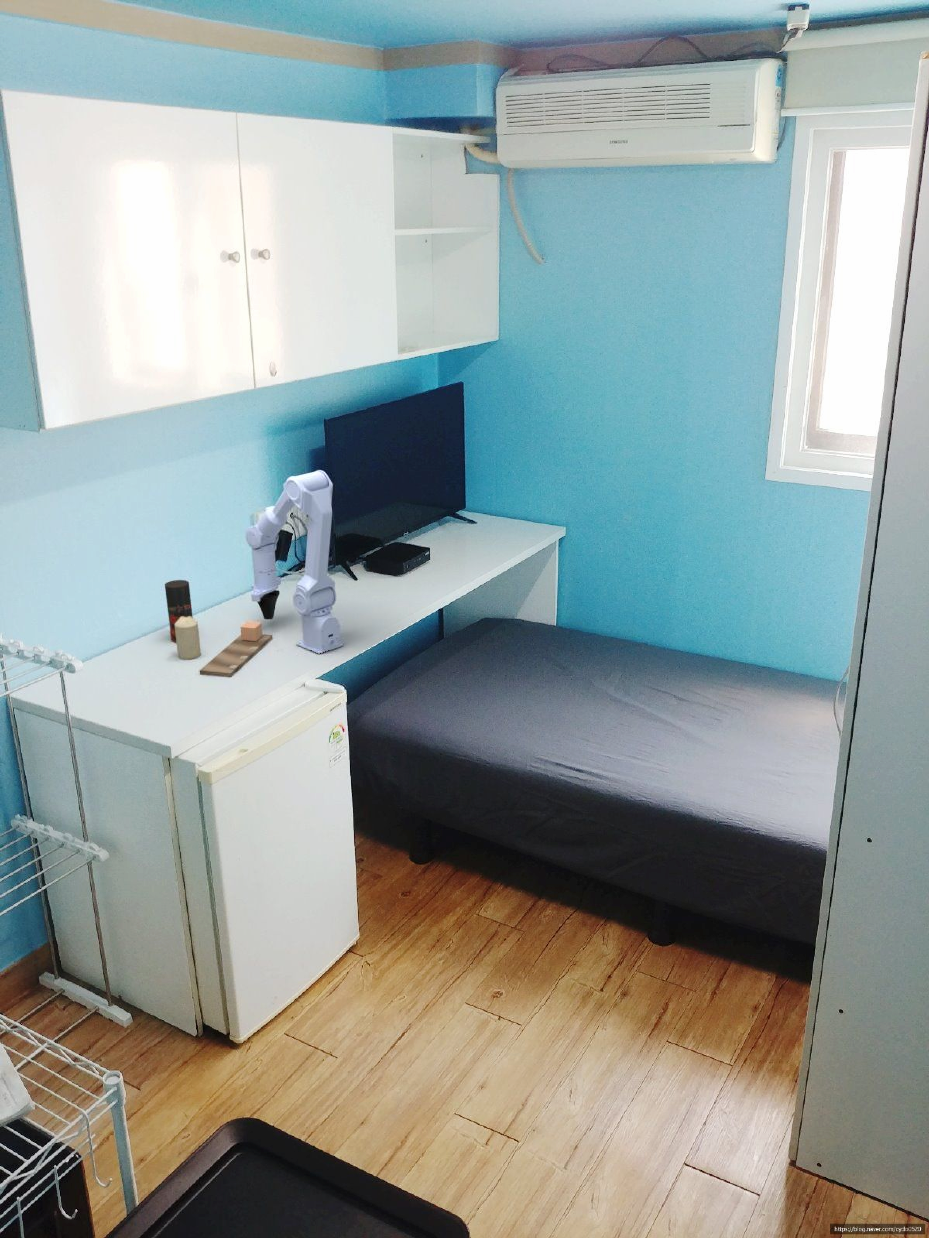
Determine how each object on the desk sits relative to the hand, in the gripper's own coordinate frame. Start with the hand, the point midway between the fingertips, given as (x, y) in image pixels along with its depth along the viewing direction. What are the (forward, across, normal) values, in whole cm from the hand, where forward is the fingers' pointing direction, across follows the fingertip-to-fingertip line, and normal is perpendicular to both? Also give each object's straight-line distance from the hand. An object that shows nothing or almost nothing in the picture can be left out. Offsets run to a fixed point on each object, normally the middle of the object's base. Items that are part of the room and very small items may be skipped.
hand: (268, 618), depth 283 cm
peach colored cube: (+1, +11, 0) cm, 11 cm away
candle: (+3, +22, -12) cm, 25 cm away
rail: (+2, +20, 0) cm, 20 cm away
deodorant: (+3, +12, -19) cm, 23 cm away
